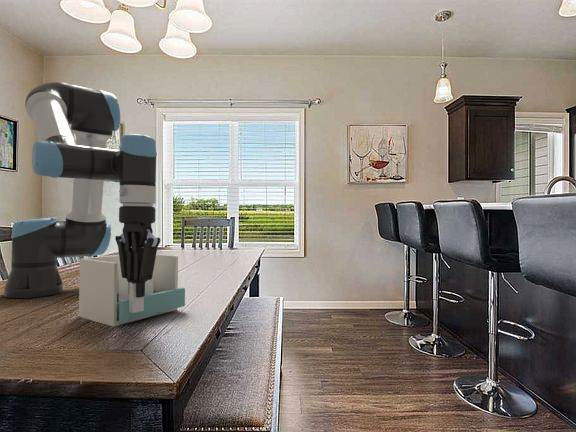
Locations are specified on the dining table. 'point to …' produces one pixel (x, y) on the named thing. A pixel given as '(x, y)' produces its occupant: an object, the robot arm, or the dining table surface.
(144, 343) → the dining table surface
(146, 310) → the teal drawer
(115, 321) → the white drawer cabinet
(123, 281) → the beverage can
